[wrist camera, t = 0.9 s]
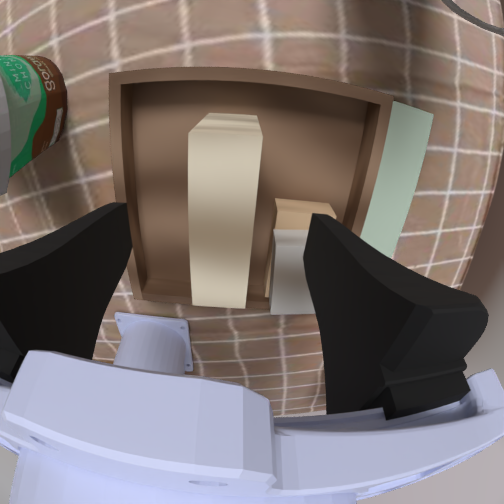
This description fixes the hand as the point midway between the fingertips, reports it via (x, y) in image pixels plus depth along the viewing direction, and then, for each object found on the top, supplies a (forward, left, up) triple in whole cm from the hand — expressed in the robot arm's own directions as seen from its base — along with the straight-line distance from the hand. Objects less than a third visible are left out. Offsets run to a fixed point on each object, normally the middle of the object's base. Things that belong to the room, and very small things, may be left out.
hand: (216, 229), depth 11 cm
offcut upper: (-7, -5, -7) cm, 11 cm away
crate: (-3, -1, -10) cm, 10 cm away
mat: (-1, -12, -10) cm, 16 cm away
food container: (+7, +16, -10) cm, 20 cm away
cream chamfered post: (-2, 0, -9) cm, 9 cm away
